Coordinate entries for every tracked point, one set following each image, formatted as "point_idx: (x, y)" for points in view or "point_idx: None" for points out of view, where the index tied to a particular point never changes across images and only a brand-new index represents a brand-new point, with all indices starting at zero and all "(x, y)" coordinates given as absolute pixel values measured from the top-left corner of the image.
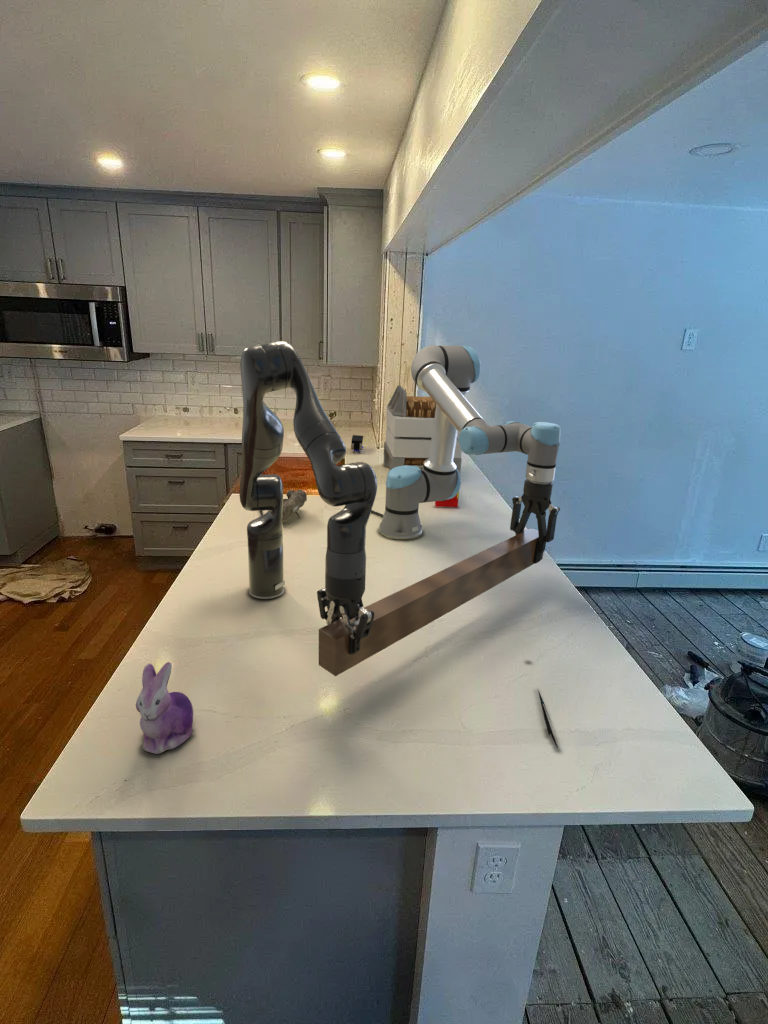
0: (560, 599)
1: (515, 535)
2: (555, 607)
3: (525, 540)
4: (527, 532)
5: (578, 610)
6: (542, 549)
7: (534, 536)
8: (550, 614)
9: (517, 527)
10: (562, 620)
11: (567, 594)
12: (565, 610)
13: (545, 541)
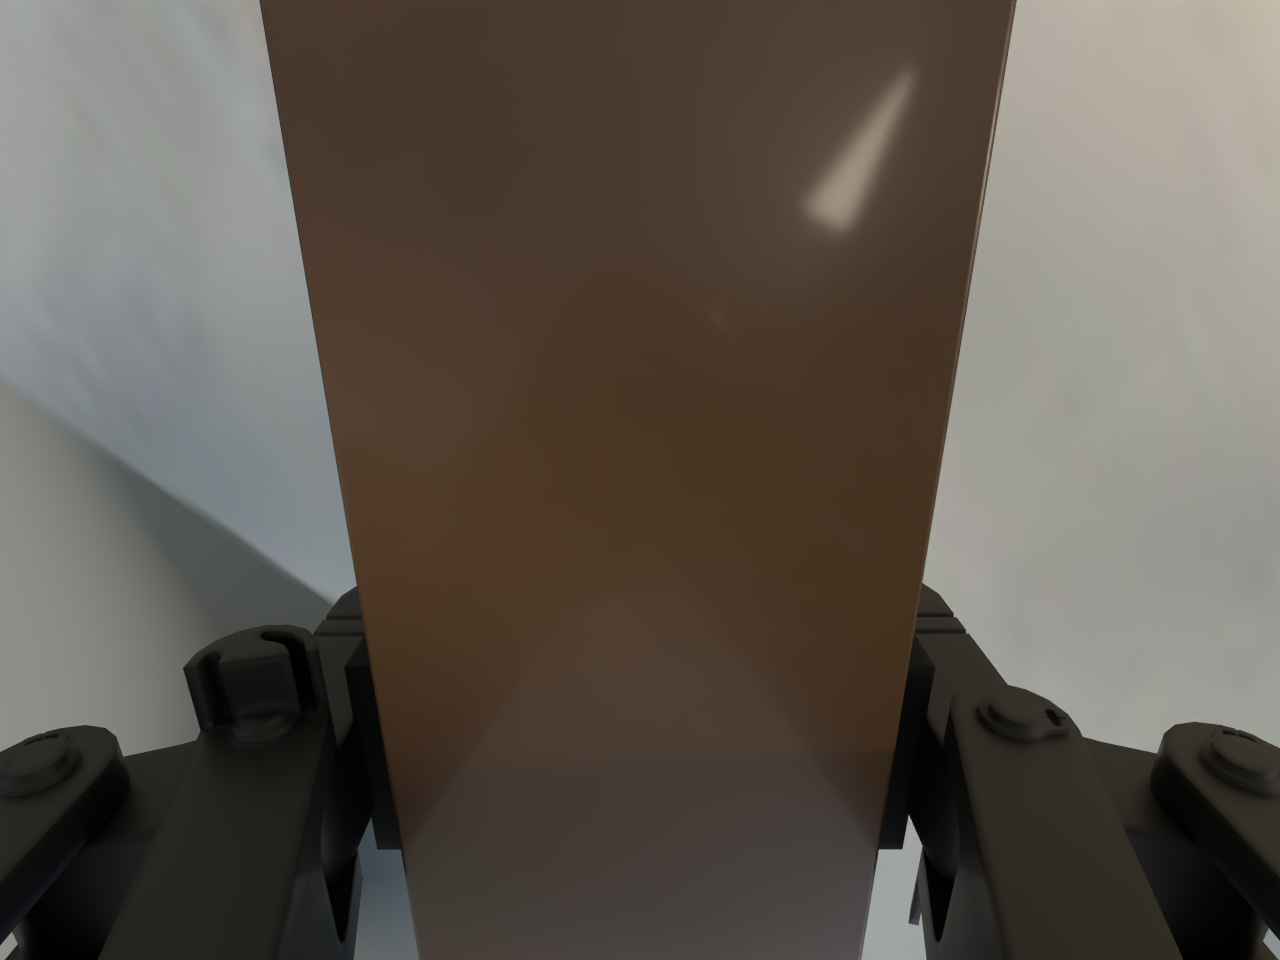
0: (317, 455)
1: (942, 438)
2: (247, 291)
3: (468, 308)
4: (770, 860)
5: (109, 394)
6: (326, 618)
7: (488, 775)
8: (182, 125)
9: (1111, 843)
10: (45, 106)
11: (339, 570)
12: (164, 308)
13: (177, 753)
